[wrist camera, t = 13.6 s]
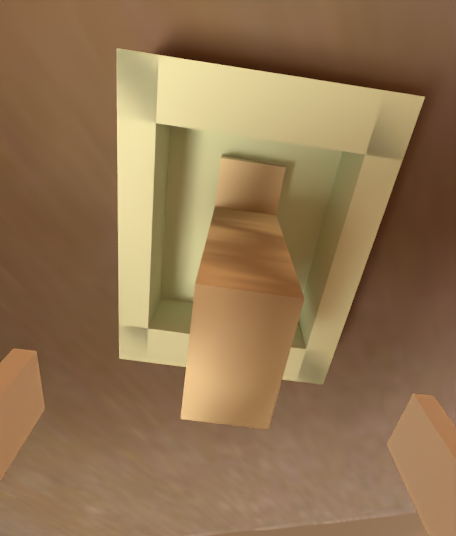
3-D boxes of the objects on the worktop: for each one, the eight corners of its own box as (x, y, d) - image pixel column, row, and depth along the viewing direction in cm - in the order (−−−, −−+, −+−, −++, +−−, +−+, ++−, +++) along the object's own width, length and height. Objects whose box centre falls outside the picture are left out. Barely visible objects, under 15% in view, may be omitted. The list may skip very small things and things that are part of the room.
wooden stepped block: (205, 288, 26) (180, 418, 15) (222, 154, 21) (203, 202, 11) (256, 295, 26) (268, 429, 15) (282, 163, 22) (326, 220, 11)
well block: (138, 318, 28) (119, 358, 24) (144, 61, 20) (116, 48, 16) (310, 341, 29) (323, 384, 24) (384, 99, 21) (425, 96, 16)
